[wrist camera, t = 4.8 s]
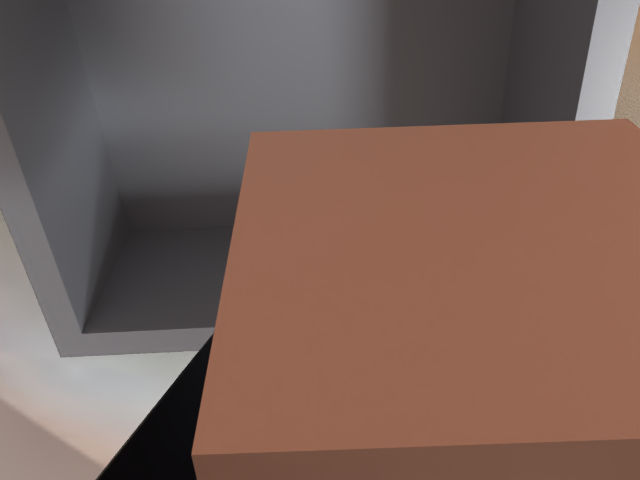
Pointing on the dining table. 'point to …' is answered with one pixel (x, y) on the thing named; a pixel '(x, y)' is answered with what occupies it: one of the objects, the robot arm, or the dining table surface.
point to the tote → (240, 126)
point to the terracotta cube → (430, 307)
